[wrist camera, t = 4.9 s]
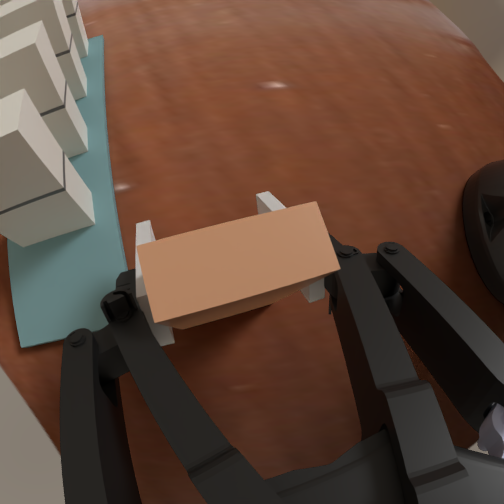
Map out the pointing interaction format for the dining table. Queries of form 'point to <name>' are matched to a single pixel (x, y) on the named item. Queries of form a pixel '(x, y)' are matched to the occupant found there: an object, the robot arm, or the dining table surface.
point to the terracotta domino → (235, 265)
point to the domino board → (73, 239)
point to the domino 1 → (73, 25)
